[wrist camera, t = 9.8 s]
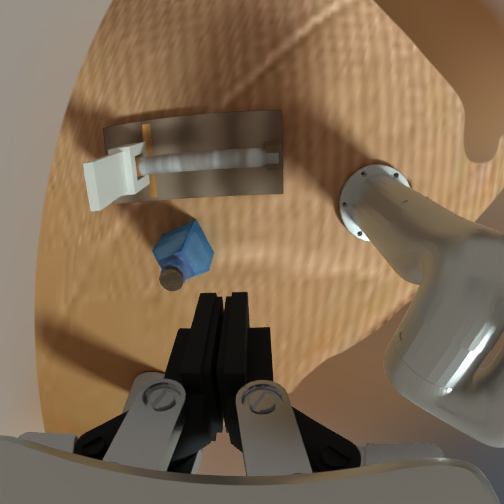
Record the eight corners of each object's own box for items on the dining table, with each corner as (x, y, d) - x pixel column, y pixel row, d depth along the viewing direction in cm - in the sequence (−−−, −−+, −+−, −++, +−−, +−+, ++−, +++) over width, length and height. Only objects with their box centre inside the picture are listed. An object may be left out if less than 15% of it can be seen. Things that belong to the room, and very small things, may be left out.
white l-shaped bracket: (145, 141, 40) (100, 155, 27) (149, 183, 42) (108, 214, 29) (125, 144, 40) (75, 160, 27) (130, 185, 42) (84, 216, 30)
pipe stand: (280, 110, 42) (285, 109, 34) (282, 190, 47) (287, 206, 39) (108, 127, 42) (82, 131, 35) (117, 200, 47) (95, 217, 40)
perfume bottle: (196, 219, 49) (179, 251, 38) (213, 252, 51) (203, 291, 40) (162, 234, 50) (139, 269, 39) (181, 266, 52) (163, 306, 41)
